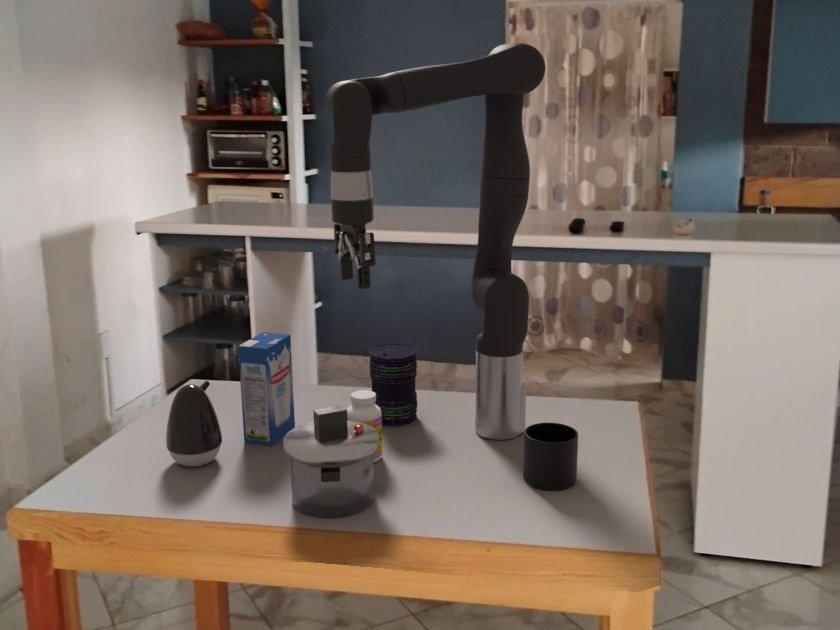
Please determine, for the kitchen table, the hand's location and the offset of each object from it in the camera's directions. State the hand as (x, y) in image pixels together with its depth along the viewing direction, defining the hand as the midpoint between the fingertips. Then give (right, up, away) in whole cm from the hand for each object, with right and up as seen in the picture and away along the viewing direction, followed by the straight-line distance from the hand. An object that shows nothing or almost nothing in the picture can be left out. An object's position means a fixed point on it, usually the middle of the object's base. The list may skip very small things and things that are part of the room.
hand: (355, 283), depth 163 cm
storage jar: (+6, -28, +24) cm, 37 cm away
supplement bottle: (+2, -33, +4) cm, 33 cm away
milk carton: (-18, -30, +16) cm, 39 cm away
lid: (-3, -28, -14) cm, 31 cm away
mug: (+35, -35, -4) cm, 50 cm away
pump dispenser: (-30, -33, +4) cm, 45 cm away
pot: (-3, -37, -12) cm, 39 cm away
